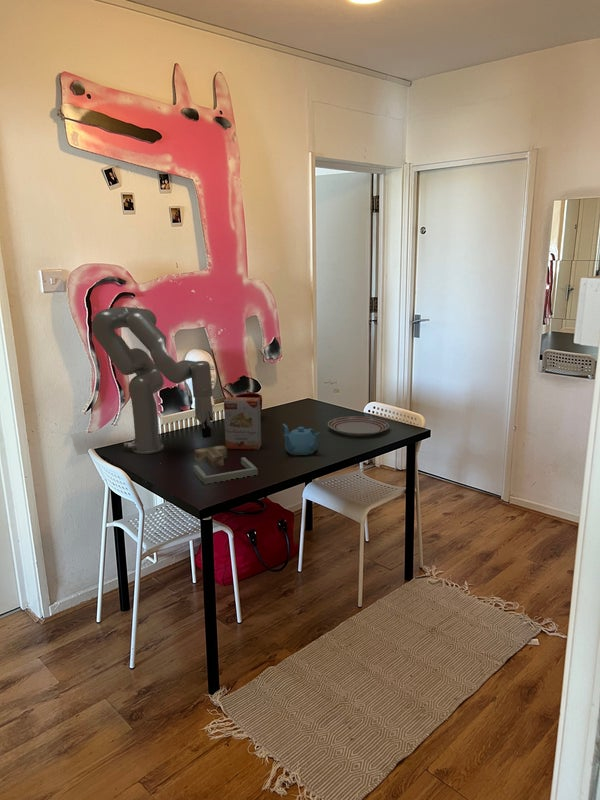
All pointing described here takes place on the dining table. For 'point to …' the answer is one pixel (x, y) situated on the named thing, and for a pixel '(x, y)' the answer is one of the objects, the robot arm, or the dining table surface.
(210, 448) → the t block
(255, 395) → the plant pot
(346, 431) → the dinner plate
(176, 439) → the dining table surface
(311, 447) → the teapot
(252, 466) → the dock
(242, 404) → the cracker box
